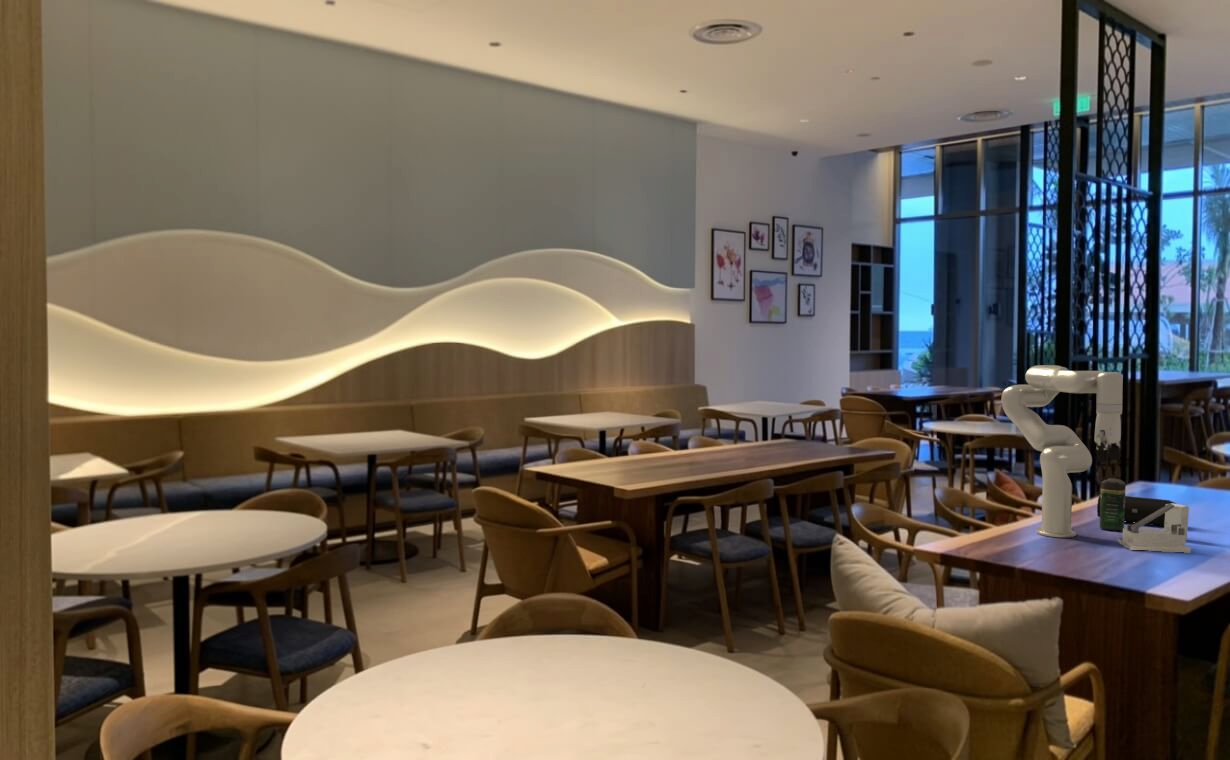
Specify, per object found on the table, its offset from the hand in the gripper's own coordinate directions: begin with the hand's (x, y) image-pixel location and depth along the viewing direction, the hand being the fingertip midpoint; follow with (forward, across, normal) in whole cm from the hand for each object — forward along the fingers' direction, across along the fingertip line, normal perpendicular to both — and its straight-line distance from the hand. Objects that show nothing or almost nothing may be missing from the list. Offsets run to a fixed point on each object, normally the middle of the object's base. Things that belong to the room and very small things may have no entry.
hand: (1108, 460), depth 300 cm
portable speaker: (+29, -55, -10) cm, 63 cm away
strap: (+20, -14, +9) cm, 26 cm away
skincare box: (+30, -35, +10) cm, 47 cm away
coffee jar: (+29, -36, -12) cm, 48 cm away
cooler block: (+30, -14, +9) cm, 34 cm away
